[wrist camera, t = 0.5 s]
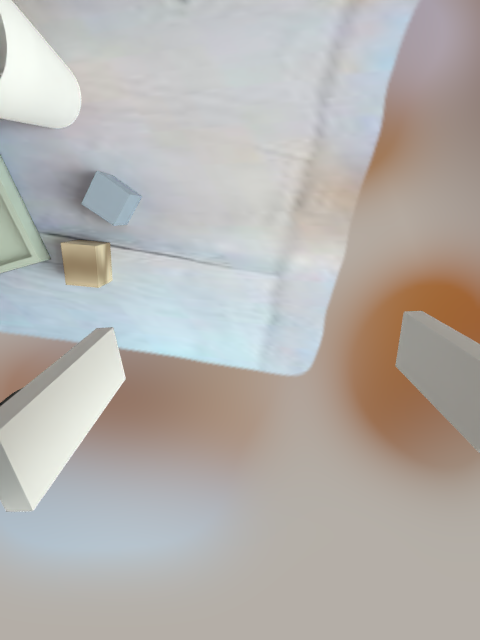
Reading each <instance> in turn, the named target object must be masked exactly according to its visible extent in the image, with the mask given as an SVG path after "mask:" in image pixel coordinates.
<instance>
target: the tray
mask: <svg viewBox="0 0 480 640" xmlns="http://www.w3.org/2000/svg"><path fill="white" fill-rule="evenodd" d="M50 259H51V258H50V256H49V254H48V252H47V250H46V248H45V246H44V243H43V241H42V239H41V237H40V235H39V233H38V231H37V229H36V227H35V225H34V223H33V221H32V219H31V217H30V215H29V213H28V211H27V208H26V206H25V204H24V202H23V200H22V198H21V196H20V194H19V192H18V190H17V188H16V186H15V184H14V182H13V180H12V178H11V176H10V173H9V171H8V169H7V167H6V165H5V163H4V161H3V159H2V157H1V155H0V273H4V272H7V271H11V270H14V269H18V268H21V267H25V266H28V265H32V264H35V263H39V262H42V261H46V260H50Z"/></svg>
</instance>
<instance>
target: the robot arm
mask: <svg viewBox="0 0 480 640" xmlns="http://www.w3.org/2000/svg"><path fill="white" fill-rule="evenodd" d="M396 367H397V368H398V369H399V370H400V371H401V372H402V373H403V374H404V375H405V376H406V377H407V378H408V379H409V380H410V381H411V383H412V384H413V385H414V386H415V387H416V388H417V389H418V390H419V391H420V392H421V393H422V394H423V395H424V396H425V397H426V398H427V399H428V400H429V401H430V402H431V403H432V404H433V405H434V406H435V407H436V408H437V410H438V411H440V413H441V414H442V415H443V416H444V417H445V418H446V419H447V420H448V421H449V422H450V423H451V424H452V425H453V426H454V427H455V428H456V429H457V430H458V431H459V432H460V433H461V434H462V435H463V437H464V438H465V439H467V441H468V442H469V443H470V444H471V445H472V446H473V447H474V448H475V449H476V450H477V451H478V452H479V453H480V344H478V343H477V342H475V341H473V340H471V339H470V338H468V337H466V336H464V335H463V334H461V333H459V332H458V331H456V330H454V329H452V328H451V327H449V326H447V325H445V324H443V323H441V322H440V321H438V320H436V319H435V318H433V317H431V316H430V315H428V314H426V313H424V312H423V311H409V312H404V315H403V321H402V328H401V334H400V341H399V347H398V354H397V360H396ZM125 379H126V378H125V374H124V370H123V366H122V362H121V358H120V353H119V349H118V345H117V341H116V337H115V333H114V329H113V327H111V328H97V329H95V330H94V331H93V332H92V333H90V334H89V335H88V336H87V337H85V338H84V339H83V340H82V341H81V342H79V343H78V344H77V345H76V346H74V347H73V348H72V349H71V350H69V351H68V352H67V353H66V354H64V355H63V356H62V357H61V358H59V359H58V360H57V361H56V362H55V363H53V364H52V365H51V366H50V367H48V368H47V369H46V370H45V371H44V372H42V373H41V374H40V375H39V376H37V377H36V378H35V379H34V380H32V381H31V382H30V383H29V384H27V385H26V386H25V387H24V388H22V389H20V390H18V391H16V392H14V393H12V394H11V395H10V396H9V397H7V398H6V399H5V400H4V401H2V402H1V403H0V500H1V502H2V504H3V506H4V508H5V510H6V512H17V511H34V509H35V508H36V506H37V505H38V503H39V502H40V501H41V499H42V498H43V496H44V495H45V493H46V492H47V491H48V489H49V488H50V486H51V485H52V483H53V482H54V480H55V479H56V478H57V476H58V475H59V473H60V472H61V470H62V469H63V468H64V466H65V465H66V463H67V462H68V460H69V459H70V458H71V456H72V455H73V453H74V452H75V450H76V449H77V448H78V446H79V445H80V443H81V442H82V440H83V439H84V438H85V436H86V435H87V433H88V432H89V430H90V429H91V427H92V426H93V425H94V423H95V422H96V420H97V419H98V418H99V416H100V415H101V413H102V412H103V410H104V409H105V407H106V406H107V405H108V403H109V402H110V400H111V399H112V398H113V396H114V395H115V393H116V392H117V390H118V389H119V387H120V386H121V385H122V383H123V382H124V380H125Z"/></svg>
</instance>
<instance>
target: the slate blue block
mask: <svg viewBox="0 0 480 640" xmlns="http://www.w3.org/2000/svg"><path fill="white" fill-rule="evenodd" d="M141 198H142V196H141V195H139V194H138V193H136V192H135V191H134V190H132V189H131V188H129V187H128V186H127V185H125V184H124V183H122V182H121V181H120V180H118V179H117V178H115V177H114V176H113V175H109V174H106V173H102V172H99V171H97V172H96V174H95V176H94V178H93V180H92V182H91V184H90V186H89V189H88V191H87V193H86V195H85V197H84V199H83V201H82V203H81V204H82V205H84V206H85V207H87V208H88V209H90V210H91V211H93V212H94V213H95V214H97V215H98V216H100V217H101V218H103V219H104V220H106V221H107V222H109V223H110V224H112V225H113V226H117V225H127V224H128V222H129V220H130V218H131V216H132V214H133V213H134V211H135V209H136V207H137V205H138V203H139V201H140V200H141Z"/></svg>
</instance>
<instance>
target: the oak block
mask: <svg viewBox="0 0 480 640" xmlns="http://www.w3.org/2000/svg"><path fill="white" fill-rule="evenodd" d="M61 250H62V257H63V265H64V273H65V281H66V285H75V286H86V287H97V288H99V287H101V286H103V285H105V284H107V283H109V282H111V281H112V266H111V251H110V243H107V242H97V241H87V240H74V241H68V242H62V243H61Z"/></svg>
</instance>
